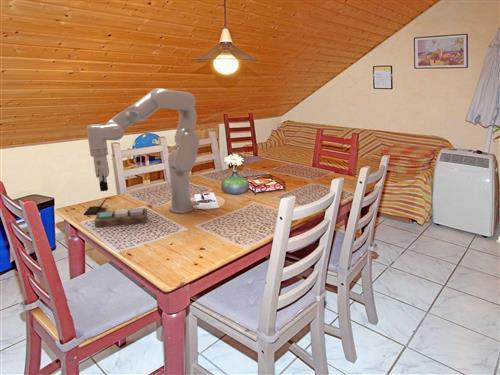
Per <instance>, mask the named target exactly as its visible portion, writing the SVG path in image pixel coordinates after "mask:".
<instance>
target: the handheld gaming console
mask: <svg viewBox="0 0 500 375" xmlns="http://www.w3.org/2000/svg"><path fill="white" fill-rule="evenodd" d="M106 201H107V198H105V199H104V200H103V201H102V202H101V204H100V205H99V206H95V205H94V206H89V207H88V209H86V210H85V211H84V212H83V216H97V214H98V213H99V212H100V211H101V209H102V206H103V205H104V203H105V202H106Z"/></svg>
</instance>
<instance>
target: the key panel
mask: <svg viewBox="0 0 500 375" xmlns="http://www.w3.org/2000/svg"><path fill="white" fill-rule="evenodd" d="M147 210H148V209H147V208H143V215H141V216H130V211H131V209H128V217H127V216H126V217H116V218H115V211H116V210H113V211H110V212H113V218H105V219H99V216H100V213H105V212H106V211H101V212H100V211H98V213H97V214H96V215H95V216H96V217H95V219H94V227H95V228H106V227H116V226H128V225H139V224H147V223H148V221H147V220H148V211H147Z"/></svg>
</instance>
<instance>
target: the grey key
mask: <svg viewBox="0 0 500 375" xmlns="http://www.w3.org/2000/svg"><path fill="white" fill-rule="evenodd" d="M143 209H144V208H143V207H136V208H130V210H131V211H130V216H141V215H143Z"/></svg>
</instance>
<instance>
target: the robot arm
mask: <svg viewBox="0 0 500 375" xmlns="http://www.w3.org/2000/svg"><path fill="white" fill-rule="evenodd" d="M196 105H197V100H196V97H195V95H194V94H193V93H191V92H188V91H184V90H183V91H181V90H173V89H166V88H162V87H157V88H154V89H152V90H150V91H149V92H148V93H146V94H145V95H144V96H143V97H141V98H139V100H137V101H136V102H134V103H133V104H132V105H130V106H128V107H126V108H125V109H124V110H122V111H121V112H119V113H118V114H116V115H115V116H114V117H112V118H111V119H109V120H108V121H107V122H106V123H104V124H102V123H101V124H100V123H97V124H96V123H94V124H90V125H87V126H86V133H87V140H88V141H87V142H88V146H89V153H90V157H91V158H93V166H94V172H95V177H96V178H97V179H98V181H99V184H98V185H99V189H100V192H107V191H108V190H109V185H108V181H107V178H108V177H109V175H110V167H109V162H108V157H107V156H108V155H109V151H108V150H109V148H108V142H107V141H119V140H121V139H122V138H123V137H124V135H125V129H127V128H128V127H131V126H132V125H134V124H136V123H139V122H140V123H141V122H143V121H145V120H147V119H149V117H150V116H152V115H153V114H155V112H157V111H158V110H160V109H161V108H163V109H169V110H170V109H171V110H177V111H178V123H177V127H176V131H175V136H174V142H175V144H176V145H177V146H178V149H173V150H171V151H170V152H169V154H168V157H167V162H168V168H169V177H170V178H169V179H170V180H169V181H170V194H171V195H170V196H171V197H170V198H171V205H170V206H169V207H168V211H170V212H171V213H174V214H184V213H190V212H192V211H193V210H194V208H195V207H196V206H200V201H197V200H193V201H192V199H191V192H190V191H191V190H190V189H191V188H190V187H191V186H190V173H189V172H190V171H192V169H193V167H194V166H195V163H196V160H197V155H198V152H199V148H200V137H199V136H198V134H197V133H196V132H195V130H196V124H197V119H198V118H197V117H198V114H197V111H196V110H197V109H196ZM194 206H195V207H194Z"/></svg>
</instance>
